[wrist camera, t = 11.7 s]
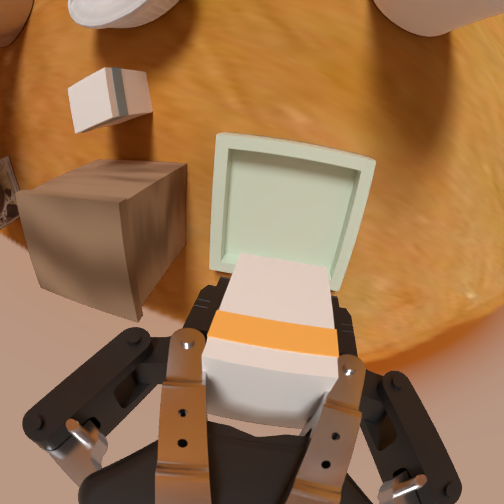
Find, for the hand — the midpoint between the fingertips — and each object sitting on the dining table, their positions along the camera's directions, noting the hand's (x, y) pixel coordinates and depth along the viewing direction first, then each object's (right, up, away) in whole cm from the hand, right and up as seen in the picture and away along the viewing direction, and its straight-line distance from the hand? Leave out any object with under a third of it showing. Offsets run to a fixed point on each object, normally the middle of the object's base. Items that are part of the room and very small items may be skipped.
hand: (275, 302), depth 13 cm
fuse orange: (0, 0, +1) cm, 1 cm away
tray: (+2, +6, +10) cm, 12 cm away
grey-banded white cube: (-12, +16, +7) cm, 21 cm away
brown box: (-12, +7, +12) cm, 18 cm away
